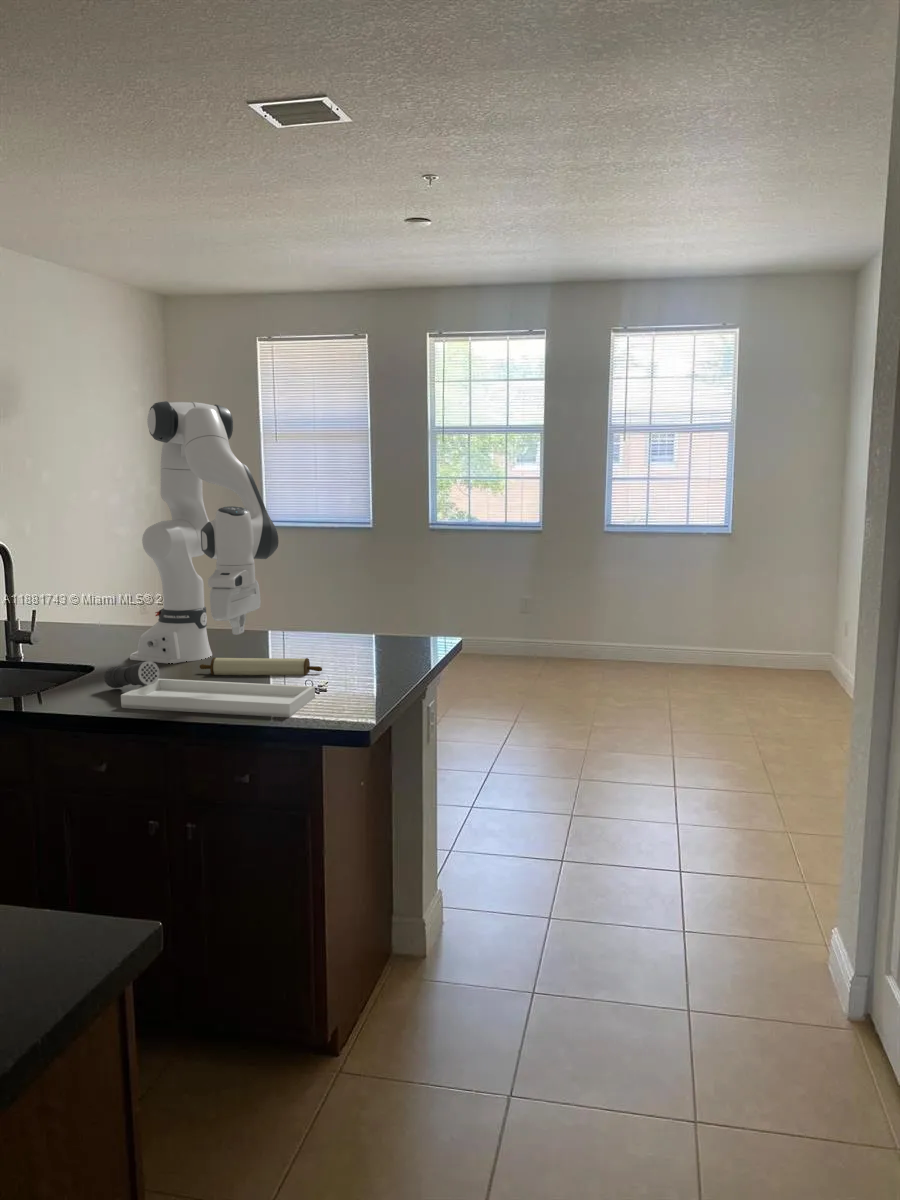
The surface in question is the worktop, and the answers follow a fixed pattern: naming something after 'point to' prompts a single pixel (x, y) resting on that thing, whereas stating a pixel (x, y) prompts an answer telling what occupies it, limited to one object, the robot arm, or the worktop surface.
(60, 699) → the worktop surface
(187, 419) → the robot arm
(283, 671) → the rolling pin
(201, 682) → the tray
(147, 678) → the flashlight
